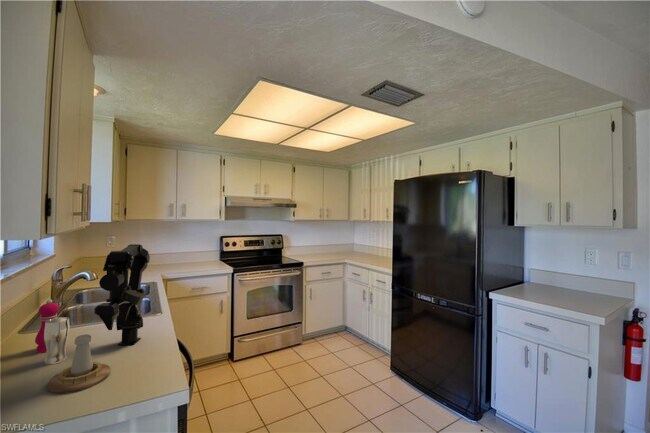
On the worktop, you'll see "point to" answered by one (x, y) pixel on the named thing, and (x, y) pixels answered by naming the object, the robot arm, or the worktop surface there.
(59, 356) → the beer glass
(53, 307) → the pepper mill
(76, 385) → the ring tray
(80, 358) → the salt shaker
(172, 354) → the worktop surface
